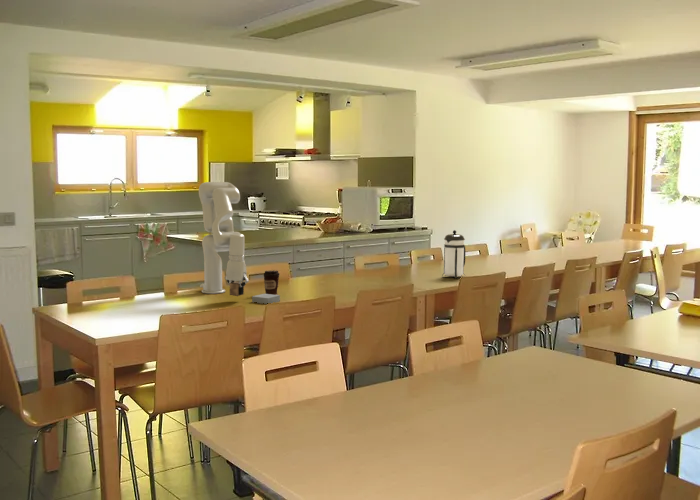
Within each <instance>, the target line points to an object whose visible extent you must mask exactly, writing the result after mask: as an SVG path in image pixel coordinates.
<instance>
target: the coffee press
mask: <svg viewBox="0 0 700 500" xmlns="http://www.w3.org/2000/svg"><path fill="white" fill-rule="evenodd" d="M443 239H444V244H443V245H444V246H443V248H444V249H443V251H444V252H443V273H442V274H441V277H444V276H445V277H447V276H448V277H453V278H454V277H455V278H457V279H458V277H462V276H463V275H465V273H464V271H465V270H464V269H465V268H464V267H465V265H466V245H465V240H466V239H465V237H464V236H463V234H459V233H457V230H455V229H454V230H453V231H452V233H449V234H446V235H445V237H444V238H443ZM455 278H454V279H455Z"/></svg>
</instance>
